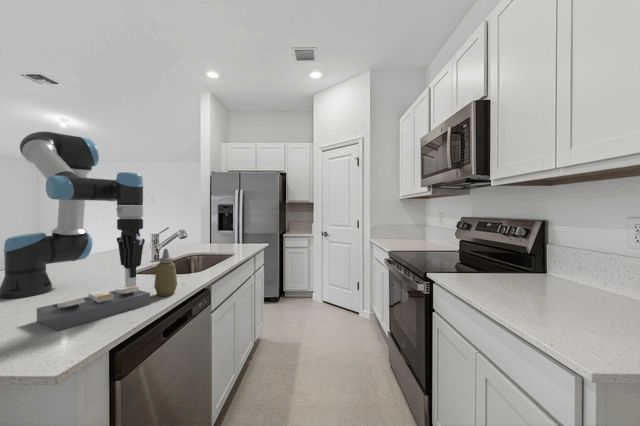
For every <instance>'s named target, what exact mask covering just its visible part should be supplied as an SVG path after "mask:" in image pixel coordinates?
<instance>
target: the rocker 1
mask: <svg viewBox="0 0 640 426" xmlns="http://www.w3.org/2000/svg"><path fill="white" fill-rule="evenodd" d="M80 298H81V299H80ZM80 298H75V299H72V300H68V301H67V300H66V301H62V302H58V303H56V304H57V306H58V308H59V307H68V306H72V305H76V304H80V303H84V302H85V300H84V299H83V298H84V297H80Z"/></svg>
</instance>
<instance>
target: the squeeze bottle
mask: <svg viewBox="0 0 640 426" xmlns="http://www.w3.org/2000/svg"><path fill="white" fill-rule="evenodd" d="M162 253H163V254H162V256H161V257H160V258H158V261H159V263H158V264H157V265H156V268H155V275H154V276H155V278H154V290H155V292H156V294H157V296H158V297H168V296H171V295H174V294H175V293H176V289H177V286H178V279H177V278H178V276H177V271H176V270H177V269H176V264H175V262H173V257H172V256H170V254H169V249H168V248H164V249H163V252H162Z"/></svg>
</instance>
